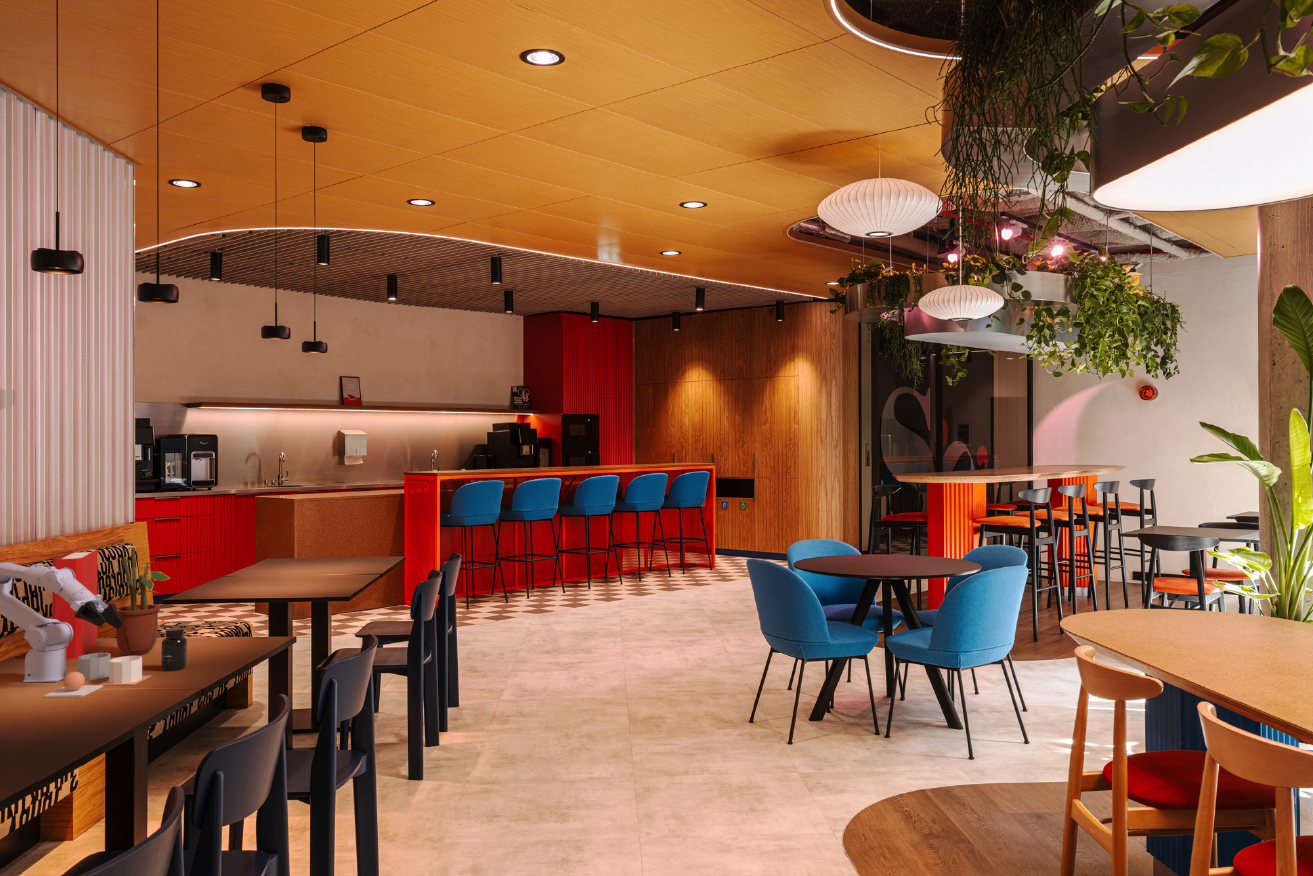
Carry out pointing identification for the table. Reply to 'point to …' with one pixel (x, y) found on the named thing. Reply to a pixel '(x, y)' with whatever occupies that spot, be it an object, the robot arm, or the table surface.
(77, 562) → the book
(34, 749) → the table surface
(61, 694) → the ball mat
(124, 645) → the potted plant
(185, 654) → the supplement bottle
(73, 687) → the terracotta ball
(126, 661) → the tube
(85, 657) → the grey faceted cup
